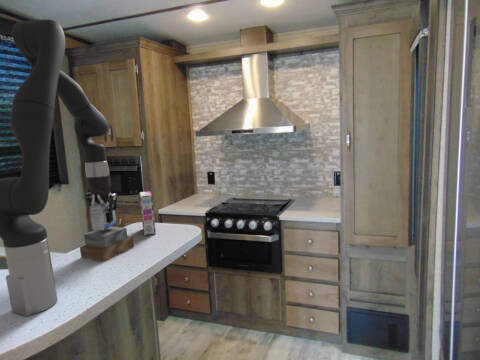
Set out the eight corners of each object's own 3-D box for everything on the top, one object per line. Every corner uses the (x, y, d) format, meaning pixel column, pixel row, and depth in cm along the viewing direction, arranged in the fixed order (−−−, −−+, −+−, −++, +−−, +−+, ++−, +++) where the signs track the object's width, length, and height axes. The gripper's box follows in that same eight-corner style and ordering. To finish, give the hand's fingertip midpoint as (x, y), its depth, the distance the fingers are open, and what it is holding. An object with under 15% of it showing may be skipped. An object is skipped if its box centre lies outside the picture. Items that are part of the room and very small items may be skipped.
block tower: (103, 261, 114) (100, 238, 113) (81, 257, 119) (78, 235, 118) (133, 247, 126) (131, 226, 125) (112, 244, 131) (109, 224, 130)
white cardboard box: (156, 234, 140) (152, 195, 138) (143, 236, 139) (139, 196, 136) (154, 226, 151) (150, 190, 148) (143, 228, 149) (138, 191, 147)
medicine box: (104, 230, 117) (100, 205, 116) (92, 230, 118) (89, 206, 117) (116, 223, 125) (113, 200, 123) (105, 223, 126) (102, 200, 124)
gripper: (74, 176, 118) (81, 223, 121) (103, 176, 112) (110, 226, 114) (92, 172, 125) (98, 217, 127) (121, 173, 118) (127, 220, 121)
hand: (104, 221), depth 121 cm, fingers closed on medicine box, 5 cm apart
